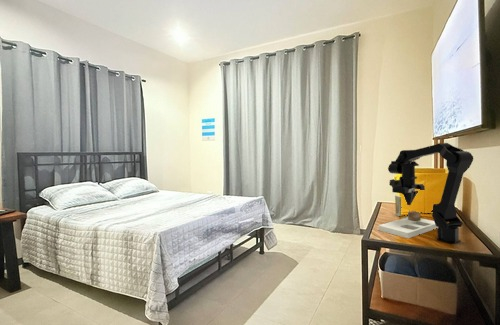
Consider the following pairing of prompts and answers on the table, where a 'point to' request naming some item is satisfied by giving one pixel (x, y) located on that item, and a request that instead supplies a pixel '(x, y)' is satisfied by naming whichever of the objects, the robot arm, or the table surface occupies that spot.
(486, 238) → the table surface
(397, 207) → the skincare box
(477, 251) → the table surface
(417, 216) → the walnut block
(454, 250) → the table surface
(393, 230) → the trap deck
